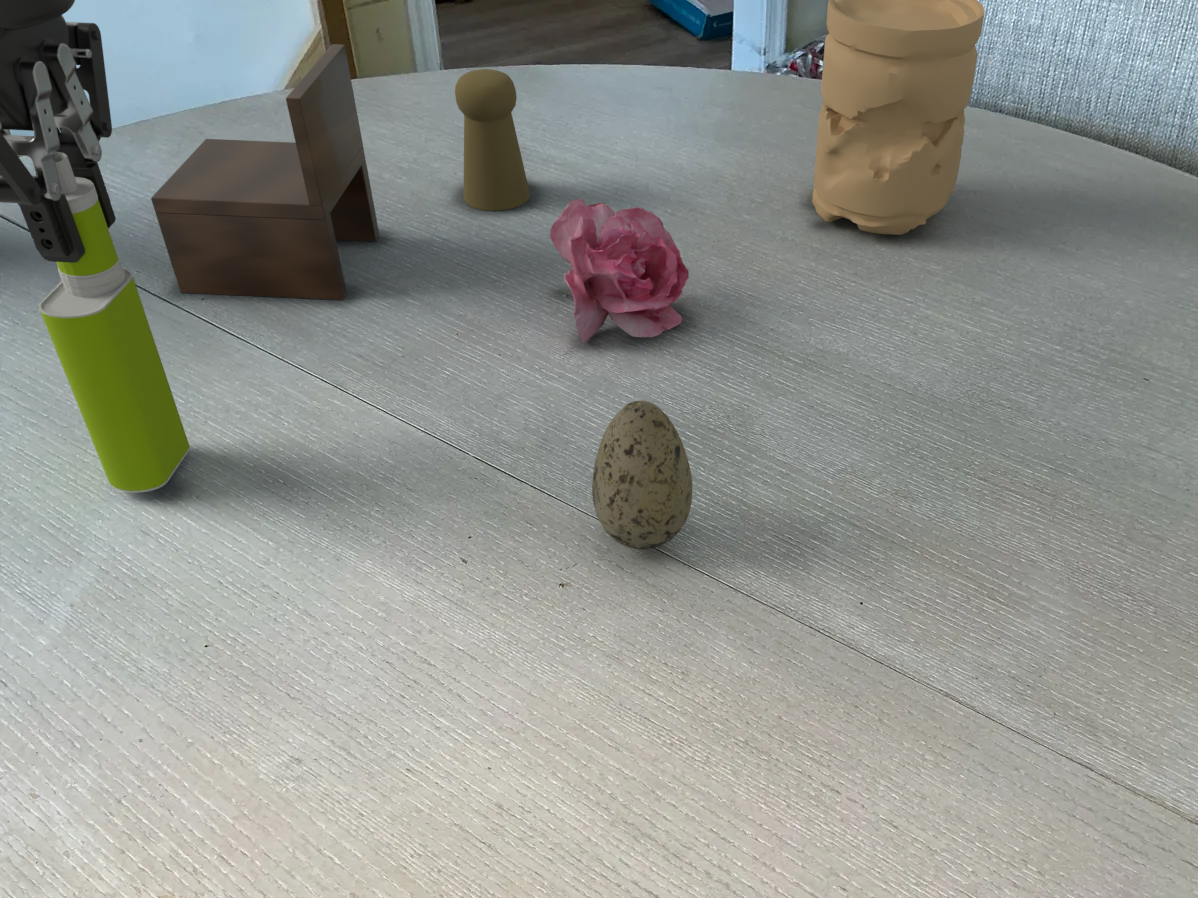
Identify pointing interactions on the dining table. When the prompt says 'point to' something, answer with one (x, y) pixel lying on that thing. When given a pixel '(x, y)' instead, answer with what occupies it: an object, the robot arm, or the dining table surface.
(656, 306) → the flower
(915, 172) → the container
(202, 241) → the wooden toy chair
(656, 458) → the decorative egg
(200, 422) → the dining table surface
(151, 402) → the vape
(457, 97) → the brown peg doll
